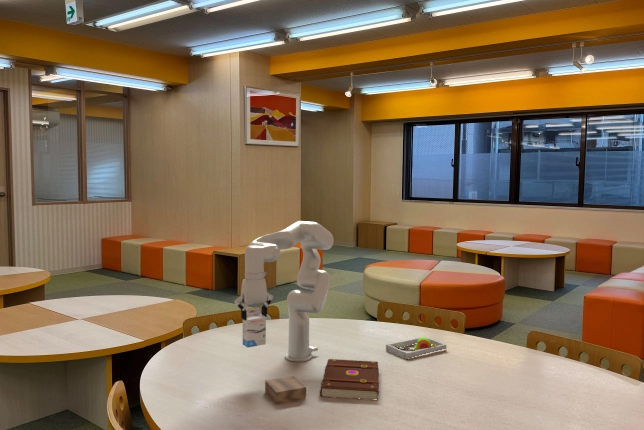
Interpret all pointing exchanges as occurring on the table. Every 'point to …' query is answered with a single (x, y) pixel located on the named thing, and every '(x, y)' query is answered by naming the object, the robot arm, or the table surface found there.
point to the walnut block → (285, 390)
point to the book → (350, 379)
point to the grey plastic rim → (394, 350)
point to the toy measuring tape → (421, 344)
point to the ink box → (254, 328)
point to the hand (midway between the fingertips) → (254, 317)
